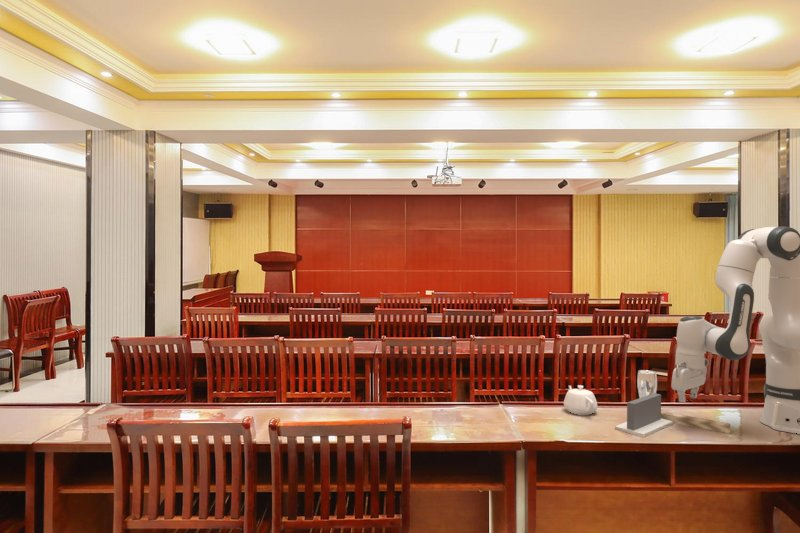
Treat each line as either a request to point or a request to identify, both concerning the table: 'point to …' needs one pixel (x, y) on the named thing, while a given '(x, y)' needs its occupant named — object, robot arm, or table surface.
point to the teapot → (580, 401)
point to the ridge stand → (644, 416)
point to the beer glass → (646, 382)
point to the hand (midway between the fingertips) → (687, 399)
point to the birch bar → (696, 422)
